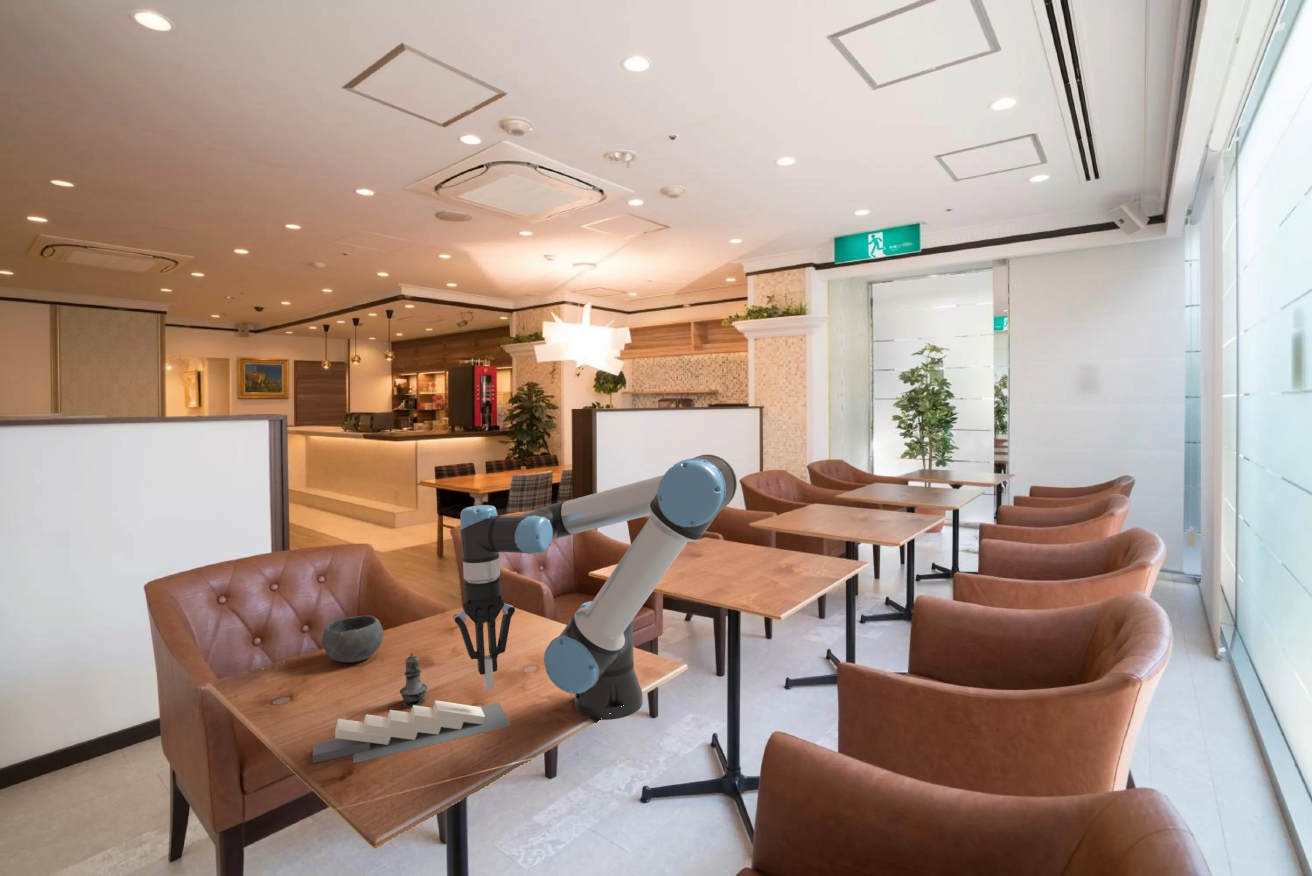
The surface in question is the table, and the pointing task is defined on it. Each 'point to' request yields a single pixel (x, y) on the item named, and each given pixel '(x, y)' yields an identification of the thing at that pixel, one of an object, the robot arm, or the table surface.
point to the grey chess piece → (413, 683)
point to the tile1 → (458, 712)
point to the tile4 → (384, 728)
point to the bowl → (352, 638)
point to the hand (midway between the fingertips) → (488, 687)
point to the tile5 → (357, 732)
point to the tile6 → (337, 749)
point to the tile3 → (408, 723)
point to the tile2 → (431, 718)
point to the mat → (492, 721)
